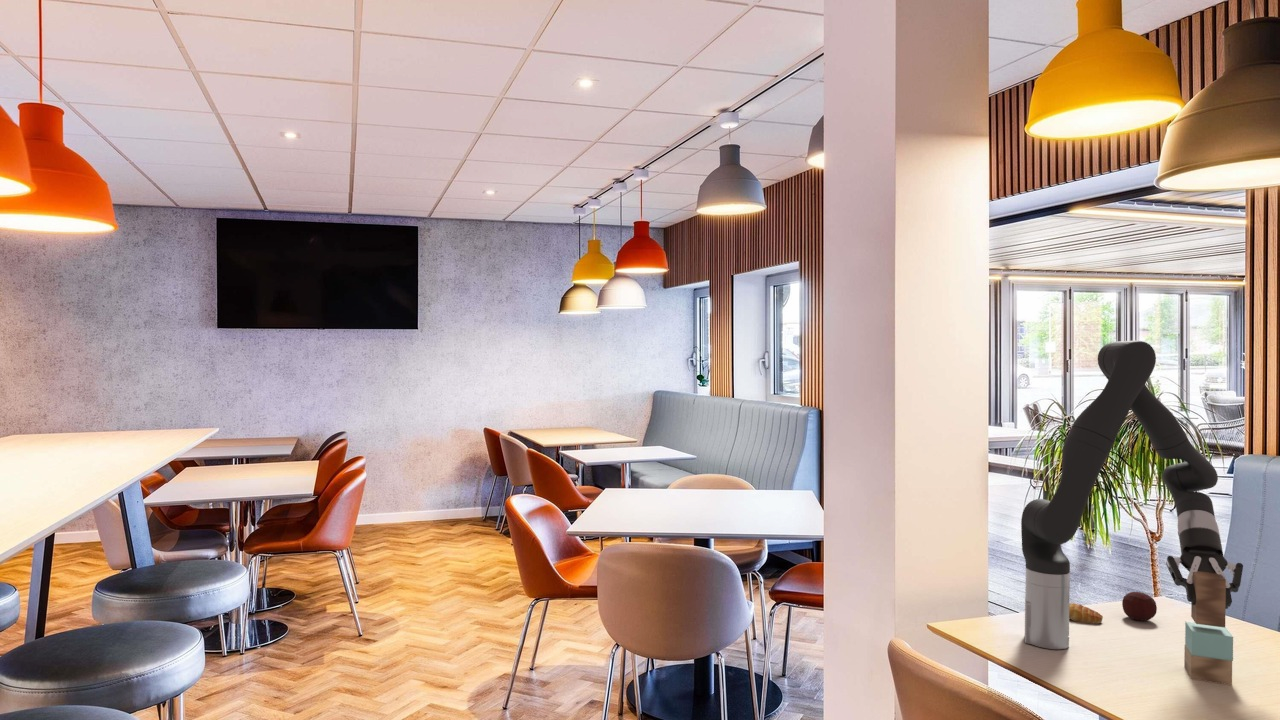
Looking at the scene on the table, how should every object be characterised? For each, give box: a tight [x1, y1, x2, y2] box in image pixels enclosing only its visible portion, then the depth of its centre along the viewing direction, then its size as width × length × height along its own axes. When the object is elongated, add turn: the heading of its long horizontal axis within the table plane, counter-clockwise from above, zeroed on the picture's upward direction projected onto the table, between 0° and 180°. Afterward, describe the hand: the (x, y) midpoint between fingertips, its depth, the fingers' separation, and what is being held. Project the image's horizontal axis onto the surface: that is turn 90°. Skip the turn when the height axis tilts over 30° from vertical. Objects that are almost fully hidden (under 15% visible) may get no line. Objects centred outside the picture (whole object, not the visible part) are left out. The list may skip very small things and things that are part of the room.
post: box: [1190, 571, 1227, 627], centre depth 165 cm, size 5×5×10 cm
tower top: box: [1184, 621, 1234, 662], centre depth 165 cm, size 7×7×5 cm
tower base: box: [1183, 644, 1233, 686], centre depth 165 cm, size 7×7×5 cm
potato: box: [1121, 591, 1158, 622], centre depth 201 cm, size 7×8×7 cm
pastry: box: [1069, 602, 1103, 625], centre depth 201 cm, size 9×7×4 cm
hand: (1210, 604), depth 163 cm, fingers closed on post, 5 cm apart
